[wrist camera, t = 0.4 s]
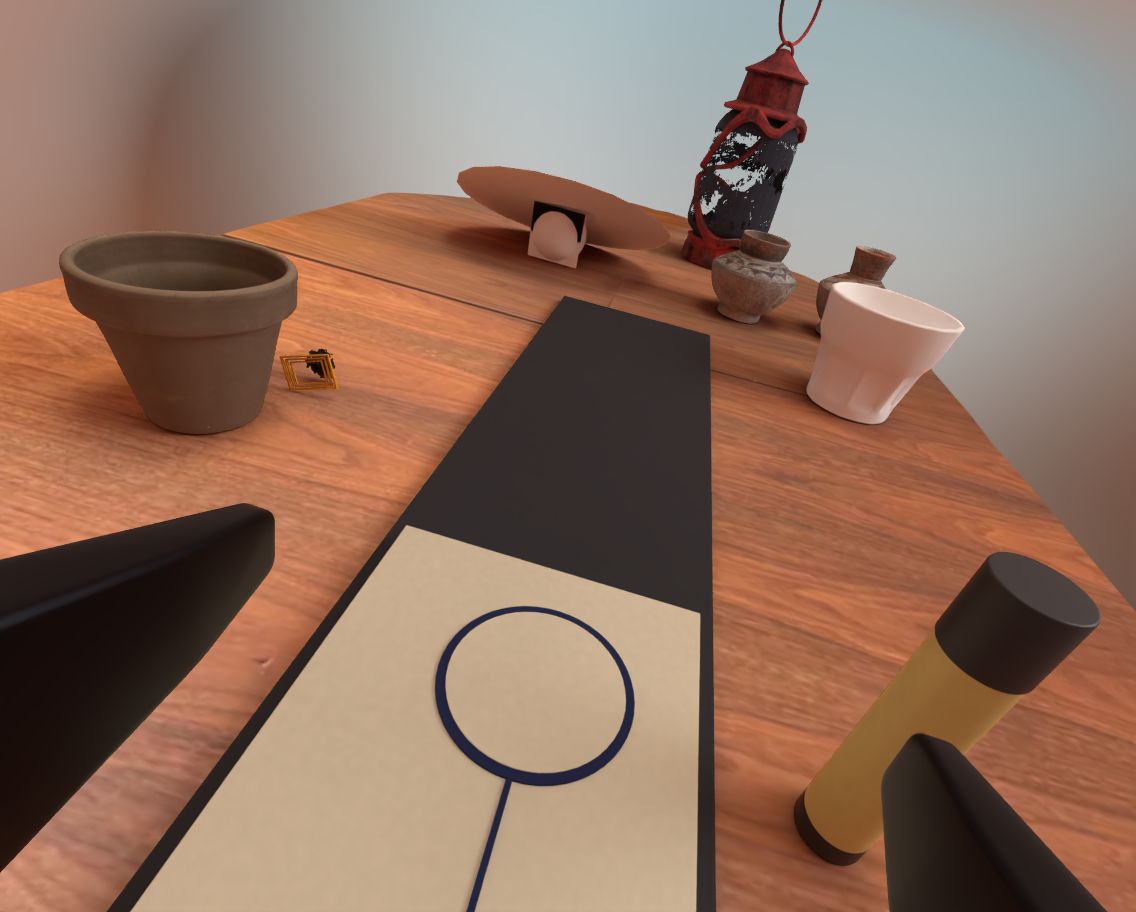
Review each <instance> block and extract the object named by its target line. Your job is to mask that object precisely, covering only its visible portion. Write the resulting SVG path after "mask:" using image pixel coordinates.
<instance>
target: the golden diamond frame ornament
mask: <svg viewBox="0 0 1136 912" xmlns="http://www.w3.org/2000/svg"><path fill="white" fill-rule="evenodd" d="M325 350H326V349H325ZM325 350H324V349H319V350H318V352H316V351H313V350H311V351H309V353H311V354H309V355H290V356H280V360H281V363H282V366H283V369H284V372H285V376H286V379H287V382H288V385H289V388H290V390H316V389H338V385H337V382H336V378H335V375H334V371H333V369H335V365H334V362H333V358H332V359H330V357H331V356H330V354H329V353H327V350H326V352H324V351H325ZM331 355H332V354H331ZM292 357H307V358H293V359H285V362H286V365H287V368H288V371H289V375H290V378H291V381H292V384H293V387H312V388H292V385H291V382H290V379H289V375H288V372H287V369H286V366H285V363H284V360H283V358H292ZM311 357H312V358H311ZM288 360H305V361H290V365H291V368H292V371H293V375H294V378H295V381H296V384H323V383H328V379H327V378H329V381H330V384H324V385H295V383H294V379H293V376H292V373H291V370H290V367H289V363H288ZM301 362H306V363H307V366H306V367H307V368H309V366H311V370H312V371H314V373H317V374H318V375H320V378H325V379H326V382H310V383H298V381H297V378H296V375H295V371H294V368H293V365H292V363H301ZM331 378H333V381H334V385H335V387H316V386H333V383H332V379H331Z"/></svg>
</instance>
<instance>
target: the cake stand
mask: <svg viewBox="0 0 1136 912" xmlns="http://www.w3.org/2000/svg"><path fill="white" fill-rule="evenodd" d="M457 182H458V184H459V185H460V187H461V188H462V189H463V191H464V192H465V193H466V194H467V195H469V196H470V197H471V198H473V199H474V200H475V201H477V202H478V203H480V204H481V205H483V206H485V207H486V208H488V209H490V210H492V211H494V212H496V213H498V214H500V215H502V216H504V217H506V218H508V219H511V220H513V221H516V222H518V223H520V224H523V225H525V226H528V227H530V228H531V231H530V239H529V247H528V255H530V256H533V257H537V258H540V259H544V260H548V261H551V262H555V263H558V264H562V265H565V266H569V267H572V268H576V265H577V259H578V254H579V253H580V251H581V250H582V249H583V247H584V245H585V243H586V244H591V245H597V246H603V247H608V248H617V249H629V250H643V249H655V248H658V247H661V246H663V245H666V244H667V243H668V240H669V238H670V234H669V233H668V231H667V230H666V228H665V227H664V225H663V224H662V223H661V222H659V221H658V220H657V219H655V218H654V217H652V216H651V215H650V214H648V213H647V212H646V211H644V210H642V209H640V208H638V207H636V206H634V205H632V204H630V203H628V202H626V201H624V200H622V199H620V198H618V197H616V196H614V195H612V194H609V193H606V192H603V191H601V190H598V189H595V188H592V187H589V186H587V185H584V184H581V183H578V182H576V181H572V180H568V179H564V178H560V177H556V176H551V175H548V174H544V173H540V172H536V171H530V170H522V169H515V168H507V167H500V166H499V167H498V166H495V167H472V168H470V169H467V170H465V171H462V172H460V173H459V175H458V180H457Z"/></svg>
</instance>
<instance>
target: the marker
mask: <svg viewBox="0 0 1136 912" xmlns="http://www.w3.org/2000/svg"><path fill="white" fill-rule="evenodd" d="M1100 619H1101V616H1100V612H1099V610H1098V608H1097V606H1096V604H1095V603H1094V602H1093V600H1092V599H1091V598H1090V597H1089V596H1088V595H1087V594H1086V593H1085V592H1084V591H1083V590H1082V589H1081V588H1080V587H1078V586H1077V585H1076V584H1075V583H1073V582H1072V581H1071V580H1069V579H1068V578H1067V577H1065V576H1064V575H1062V574H1061V573H1059V572H1057V571H1056V570H1054V569H1052V568H1050V567H1048V566H1047V565H1044V564H1042V563H1040V562H1038V561H1036V560H1034V559H1031V558H1028V557H1026V556H1022V555H1019V554H1015V553H1010V552H997V553H994V554H992V555H990V556H989V557H988V558H987V559H986V560H985V562H984V563H983V564H982V565H981V567H980V568H979V569H978V570H977V572H976V573H975V574H974V575H973V577H972V578H971V579H970V580H969V582H968V583H967V584H966V586H965V587H964V588H963V589H962V591H961V592H960V593H959V594H958V596H957V597H956V598H955V599H954V601H953V602H952V603H951V604H950V606H949V607H948V608H947V609H946V611H945V612H944V613H943V614H942V616H941V617H940V618H939V620H938V621H937V622H936V624H935V628H934V629H933V630H932V631H931V633H930V634H929V635H928V636H927V638H926V639H925V640H924V641H923V643H922V644H921V645H920V646H919V648H918V649H917V650H916V651H915V653H914V654H913V655H912V656H911V658H910V659H909V660H908V661H907V663H906V664H905V665H904V666H903V668H902V669H901V670H900V671H899V673H898V674H897V675H896V676H895V678H894V679H893V680H892V681H891V683H890V684H889V685H888V686H887V688H886V689H885V690H884V691H883V693H882V694H881V695H880V696H879V698H878V699H877V700H876V702H875V703H874V704H873V705H872V707H871V708H870V709H869V710H868V712H867V713H866V714H865V715H864V717H863V718H862V719H861V720H860V722H859V723H858V724H857V725H856V727H855V728H854V729H853V730H852V732H851V733H850V734H849V735H848V737H847V738H846V739H845V740H844V742H843V743H842V744H841V745H840V747H839V748H838V749H837V750H836V752H835V753H834V754H833V755H832V757H831V758H830V759H829V760H828V762H827V763H826V764H825V765H824V767H823V768H822V769H821V770H820V772H819V773H818V774H817V776H816V777H815V778H814V779H813V781H812V782H811V783H810V784H809V786H808V787H807V788H806V789H805V791H804V792H803V793H802V794H801V796H800V797H799V798H798V800H797V801H796V804H795V809H794V815H795V822H796V825H797V828H798V830H799V832H800V834H801V836H802V838H803V839H804V841H805V842H806V843H807V845H808V846H809V847H810V848H811V849H812V850H813V851H814V852H815V853H816V854H817V855H819V856H820V857H822V858H823V859H825V860H827V861H828V862H831V863H833V864H837V865H850V864H853V863H855V862H856V861H857V860H858V859H859V858H860V857H861V856H862V855H863V854H864V853H865V852H866V851H868V849H870V848H871V847H872V846H873V845H874V844H875V843H876V842H877V841H878V840H879V839H880V838H881V837H882V836H883V835H884V828H883V814H882V799H881V783H882V778H883V775H884V773H885V771H886V769H887V768H888V766H889V765H890V764H891V762H892V761H893V759H894V758H895V757H896V755H897V754H898V753H899V751H900V750H901V749H902V747H903V746H904V744H905V743H906V742H907V740H908V739H909V738H910V737H911V736H912V735H914V734H916V733H924V734H927V735H930V736H933V737H936V738H938V739H941V740H944V741H947V742H949V743H951V744H953V745H954V746H955V747H956V748H957V749H958V750H959V751H960V752H961V753H962V754H963V755H964V754H966V753H967V752H968V751H969V750H970V749H971V748H972V747H973V746H974V745H975V744H976V743H977V742H978V741H979V740H980V739H981V738H982V737H983V736H984V735H985V734H986V733H987V732H988V731H989V730H990V729H991V728H992V727H993V726H994V725H995V724H996V723H997V722H998V721H999V720H1000V719H1001V718H1002V717H1003V716H1004V715H1005V714H1006V713H1007V712H1008V711H1009V710H1010V709H1011V708H1012V707H1013V706H1014V705H1015V704H1016V703H1017V702H1018V701H1019V700H1020V699H1021V698H1022V697H1023V696H1024V695H1025V694H1027V693H1029V692H1031V691H1032V690H1033V689H1034V688H1035V687H1036V686H1037V685H1038V684H1039V683H1040V682H1041V681H1042V680H1043V679H1044V678H1045V677H1046V676H1048V675H1049V674H1050V673H1051V672H1052V671H1053V670H1054V669H1055V668H1056V667H1057V666H1058V665H1059V664H1060V663H1061V662H1062V661H1063V660H1064V659H1065V658H1066V657H1067V656H1068V655H1069V654H1070V653H1071V652H1072V651H1073V650H1074V649H1075V648H1076V647H1077V646H1078V645H1079V644H1080V643H1081V642H1082V641H1083V640H1084V639H1085V638H1086V637H1087V636H1088V635H1089V634H1090V633H1091V632H1092V631H1093V630H1094V629H1095V628H1096V627H1097V626H1098V625H1099V624H1100Z"/></svg>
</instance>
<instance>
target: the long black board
mask: <svg viewBox="0 0 1136 912" xmlns="http://www.w3.org/2000/svg"><path fill="white" fill-rule="evenodd" d="M107 912H716V883H715V785H714V688H713V590H712V493H711V396H710V335H707V334H704V333H700V332H696V331H692V330H689V329H685V328H681V327H678V326H674V325H670V324H667V323H663V322H659V321H656V320H652V319H648V318H645V317H641V316H637V315H634V314H630V313H626V312H623V311H619V310H615V309H611V308H608V307H604V306H600V305H597V304H593V303H589V302H586V301H582V300H578V299H575V298H571V297H567V296H564V297H563V299H562V300H561V301H560V303H559V304H558V305H557V307H556V308H555V309H554V311H553V312H552V313H551V315H550V316H549V318H548V319H547V320H546V322H545V323H544V324H543V326H542V327H541V328H540V330H539V331H538V332H537V334H536V335H535V336H534V338H533V339H532V340H531V342H530V343H529V344H528V346H527V347H526V348H525V350H524V351H523V353H522V354H521V355H520V357H519V358H518V359H517V361H516V362H515V363H514V365H513V366H512V367H511V369H510V370H509V371H508V373H507V374H506V375H505V377H504V378H503V379H502V381H501V382H500V383H499V385H498V386H497V388H496V389H495V390H494V392H493V393H492V394H491V396H490V397H489V398H488V400H487V401H486V402H485V404H484V405H483V406H482V408H481V409H480V410H479V412H478V413H477V414H476V416H475V417H474V418H473V420H472V421H471V422H470V424H469V425H468V427H467V428H466V429H465V431H464V432H463V433H462V435H461V436H460V437H459V439H458V440H457V441H456V443H455V444H454V445H453V447H452V448H451V449H450V451H449V452H448V453H447V455H446V456H445V457H444V459H443V460H442V462H441V463H440V464H439V466H438V467H437V468H436V470H435V471H434V472H433V474H432V475H431V476H430V478H429V479H428V480H427V482H426V483H425V484H424V486H423V487H422V488H421V490H420V491H419V492H418V494H417V495H416V497H415V498H414V499H413V501H412V502H411V503H410V505H409V506H408V507H407V509H406V510H405V511H404V513H403V514H402V515H401V517H400V518H399V519H398V521H397V522H396V523H395V525H394V526H393V527H392V529H391V530H390V532H389V533H388V534H387V536H386V537H385V538H384V540H383V541H382V542H381V544H380V545H379V546H378V548H377V549H376V550H375V552H374V553H373V554H372V556H371V557H370V558H369V560H368V561H367V562H366V564H365V565H364V567H363V568H362V569H361V571H360V572H359V573H358V575H357V576H356V577H355V579H354V580H353V581H352V583H351V584H350V585H349V587H348V588H347V589H346V591H345V592H344V593H343V595H342V596H341V597H340V599H339V600H338V601H337V603H336V604H335V606H334V607H333V608H332V610H331V611H330V612H329V614H328V615H327V616H326V618H325V619H324V620H323V622H322V623H321V624H320V626H319V627H318V628H317V630H316V631H315V632H314V634H313V635H312V636H311V638H310V639H309V641H308V642H307V643H306V645H305V646H304V647H303V649H302V650H301V651H300V653H299V654H298V655H297V657H296V658H295V659H294V661H293V662H292V663H291V665H290V666H289V667H288V669H287V670H286V671H285V673H284V674H283V676H282V677H281V678H280V680H279V681H278V682H277V684H276V685H275V686H274V688H273V689H272V690H271V692H270V693H269V694H268V696H267V697H266V698H265V700H264V701H263V702H262V704H261V705H260V706H259V708H258V709H257V711H256V712H255V713H254V715H253V716H252V717H251V719H250V720H249V721H248V723H247V724H246V725H245V727H244V728H243V729H242V731H241V732H240V733H239V735H238V736H237V737H236V739H235V740H234V741H233V743H232V744H231V746H230V747H229V748H228V750H227V751H226V752H225V754H224V755H223V756H222V758H221V759H220V760H219V762H218V763H217V764H216V766H215V767H214V768H213V770H212V771H211V772H210V774H209V775H208V776H207V778H206V779H205V780H204V782H203V783H202V785H201V786H200V787H199V789H198V790H197V791H196V793H195V794H194V795H193V797H192V798H191V799H190V801H189V802H188V803H187V805H186V806H185V807H184V809H183V810H182V811H181V813H180V814H179V815H178V817H177V818H176V820H175V821H174V822H173V824H172V825H171V826H170V828H169V829H168V830H167V832H166V833H165V834H164V836H163V837H162V838H161V840H160V841H159V842H158V844H157V845H156V846H155V848H154V849H153V850H152V852H151V853H150V855H149V856H148V857H147V859H146V860H145V861H144V863H143V864H142V865H141V867H140V868H139V869H138V871H137V872H136V873H135V875H134V876H133V877H132V879H131V880H130V881H129V883H128V884H127V885H126V887H125V888H124V890H123V891H122V892H121V894H120V895H119V896H118V898H117V899H116V900H115V902H114V903H113V904H112V906H111V907H110V908H109V910H108V911H107Z"/></svg>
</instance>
